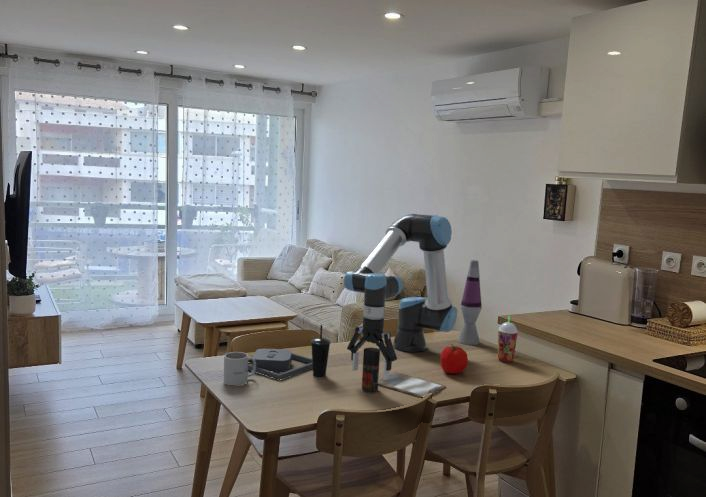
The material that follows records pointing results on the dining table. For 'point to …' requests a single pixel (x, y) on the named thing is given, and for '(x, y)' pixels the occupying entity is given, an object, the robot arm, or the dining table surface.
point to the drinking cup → (320, 355)
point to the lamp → (471, 306)
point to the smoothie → (507, 341)
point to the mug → (237, 368)
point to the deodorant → (370, 370)
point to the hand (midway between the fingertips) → (370, 374)
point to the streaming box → (273, 359)
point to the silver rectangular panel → (410, 384)
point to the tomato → (453, 359)
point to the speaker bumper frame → (288, 373)
